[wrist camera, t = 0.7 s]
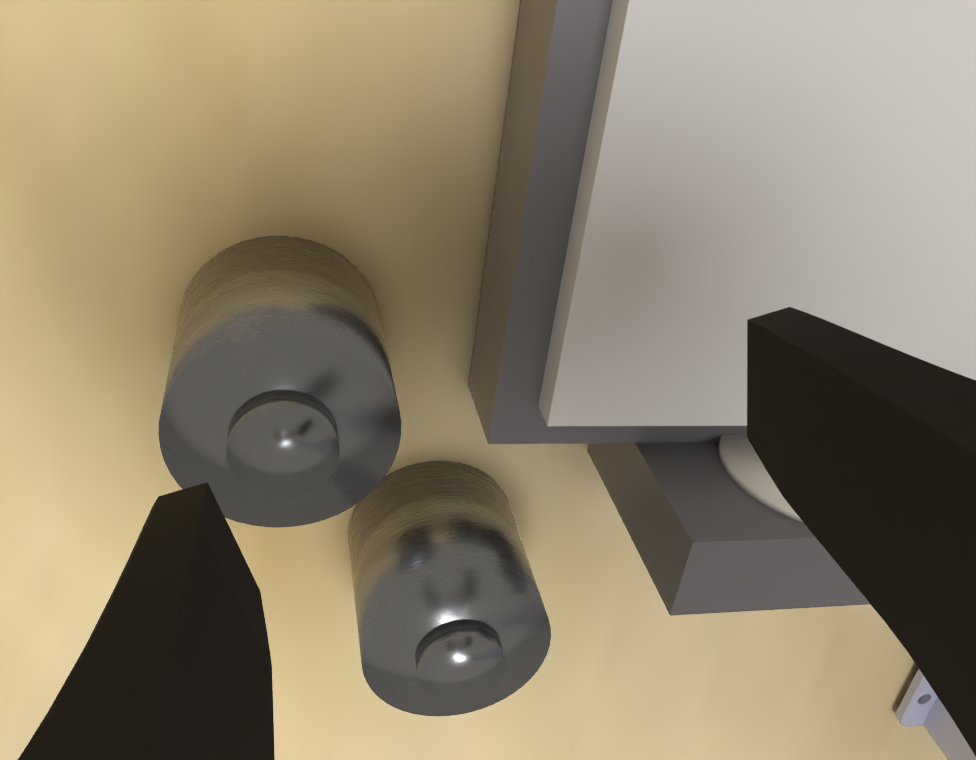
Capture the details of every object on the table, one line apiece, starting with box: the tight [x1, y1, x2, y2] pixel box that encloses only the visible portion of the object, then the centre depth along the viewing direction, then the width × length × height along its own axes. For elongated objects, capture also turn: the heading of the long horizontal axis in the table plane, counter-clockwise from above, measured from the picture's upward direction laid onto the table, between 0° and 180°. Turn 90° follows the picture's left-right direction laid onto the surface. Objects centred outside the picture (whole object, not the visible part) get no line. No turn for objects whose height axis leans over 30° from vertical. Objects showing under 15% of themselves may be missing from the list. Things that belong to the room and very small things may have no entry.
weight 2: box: [348, 461, 551, 716], centre depth 22 cm, size 4×4×5 cm
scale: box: [468, 0, 976, 615], centre depth 18 cm, size 17×15×6 cm
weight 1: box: [159, 236, 401, 527], centre depth 18 cm, size 4×4×5 cm
